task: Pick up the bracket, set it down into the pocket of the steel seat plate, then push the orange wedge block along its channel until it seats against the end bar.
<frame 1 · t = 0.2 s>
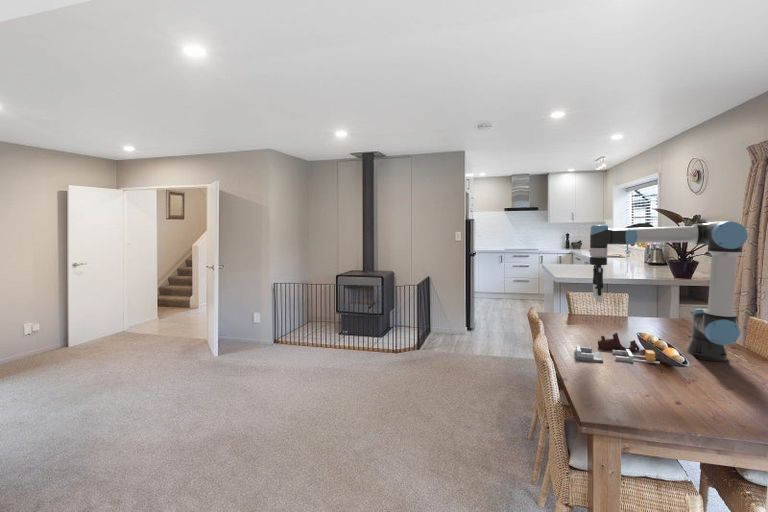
hand: (597, 299, 200), 27 cm above the table, fingers open, 13 cm apart
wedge: (650, 356, 187), point 3 cm above the table, slide at 0.0 cm
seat: (603, 358, 195), on the table
bracket: (617, 352, 205), on the table
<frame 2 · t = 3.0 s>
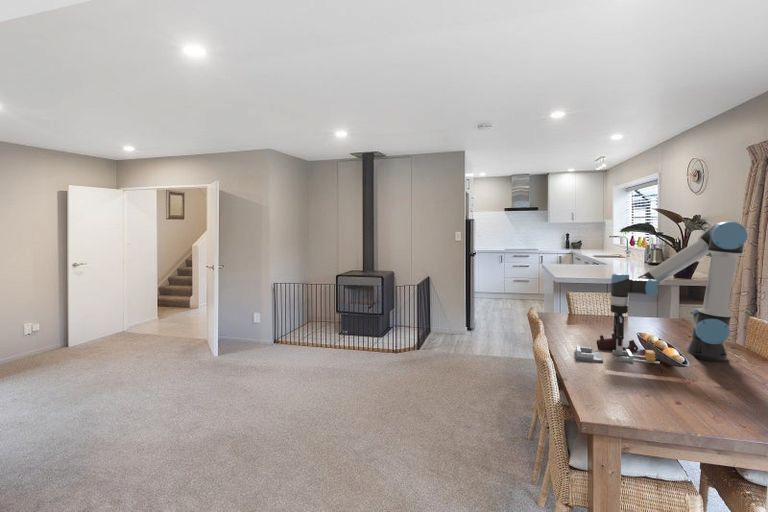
hand: (617, 349, 205), 1 cm above the table, fingers closed on bracket, 8 cm apart
bracket: (616, 352, 205), on the table, touching gripper
everything else where it was.
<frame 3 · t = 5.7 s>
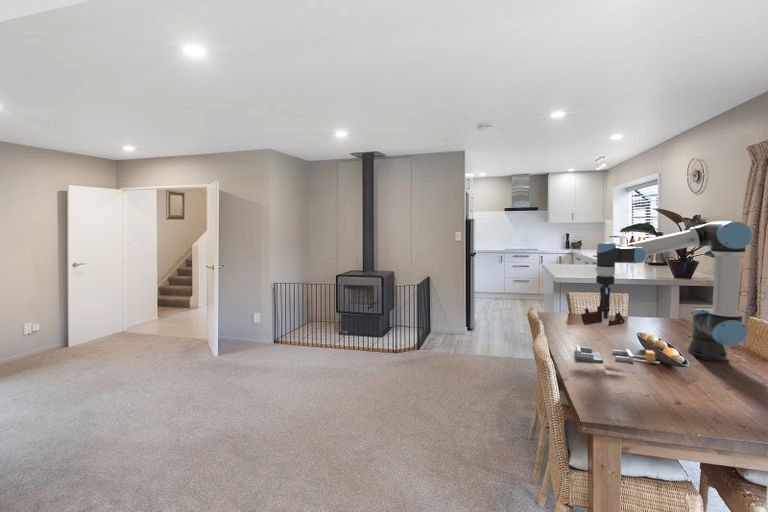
hand: (604, 323, 194), 17 cm above the table, fingers closed on bracket, 8 cm apart
bracket: (602, 325, 194), point 16 cm above the table, touching gripper
everything else where it was.
when the fingers open (4 cm above the table, at t = 8.5 s): bracket drops 2 cm, resting on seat.
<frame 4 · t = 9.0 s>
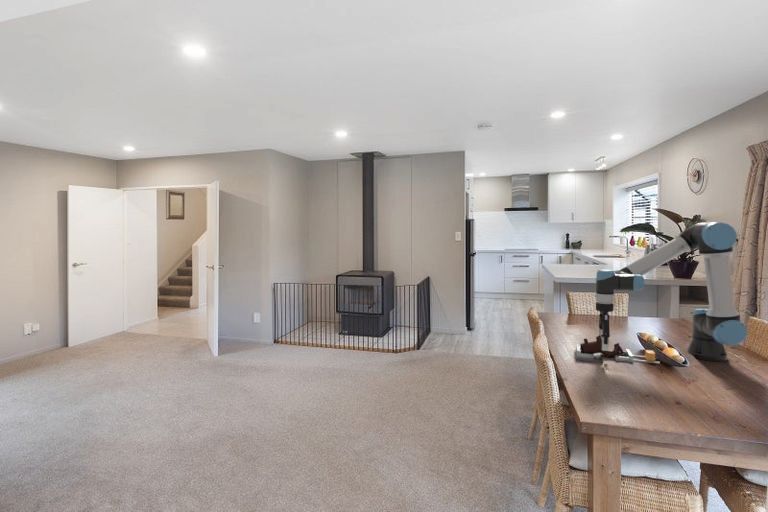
hand: (603, 346, 194), 6 cm above the table, fingers open, 13 cm apart
bracket: (601, 355, 196), point 1 cm above the table, touching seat
everything else where it was.
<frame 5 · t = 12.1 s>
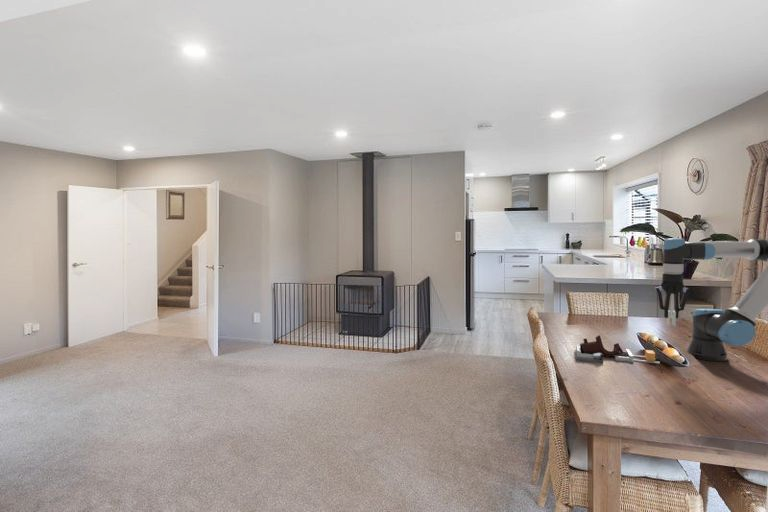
hand: (670, 325, 183), 18 cm above the table, fingers closed
nothing on the table moved.
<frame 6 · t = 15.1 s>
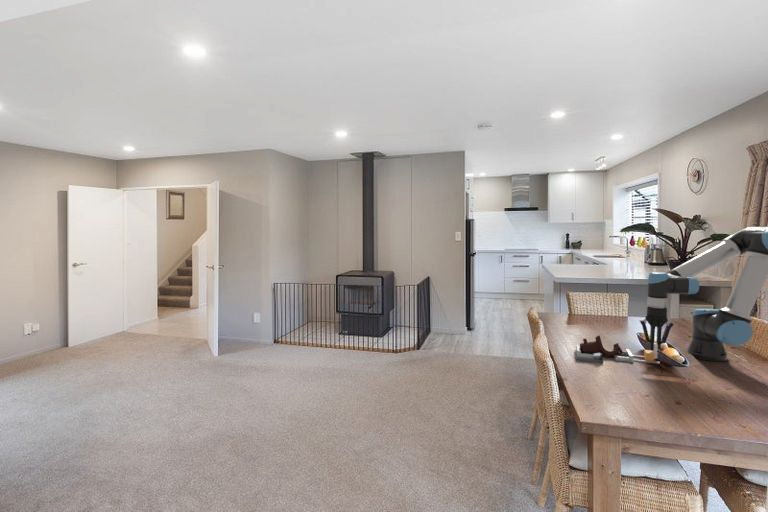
hand: (654, 357, 187), 3 cm above the table, fingers closed
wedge: (648, 355, 188), point 3 cm above the table, slide at 0.4 cm, touching gripper
everything else where it was.
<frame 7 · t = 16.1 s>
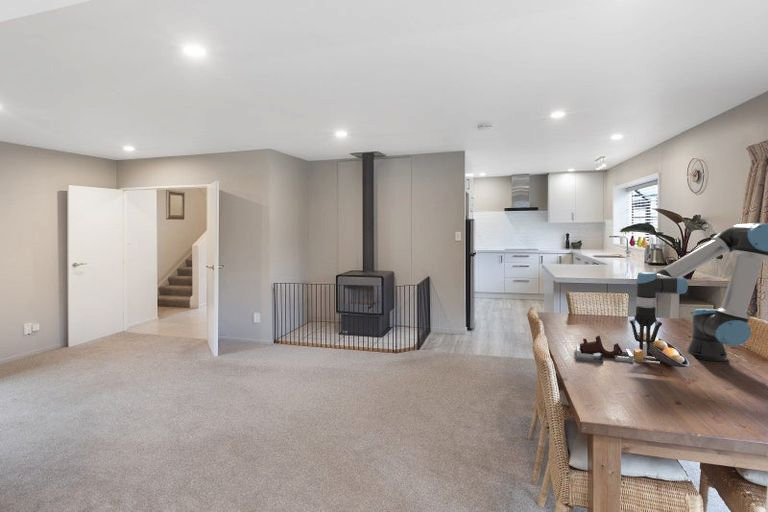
hand: (643, 356, 188), 3 cm above the table, fingers closed
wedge: (638, 354, 189), point 3 cm above the table, slide at 4.6 cm, touching gripper
everything else where it was.
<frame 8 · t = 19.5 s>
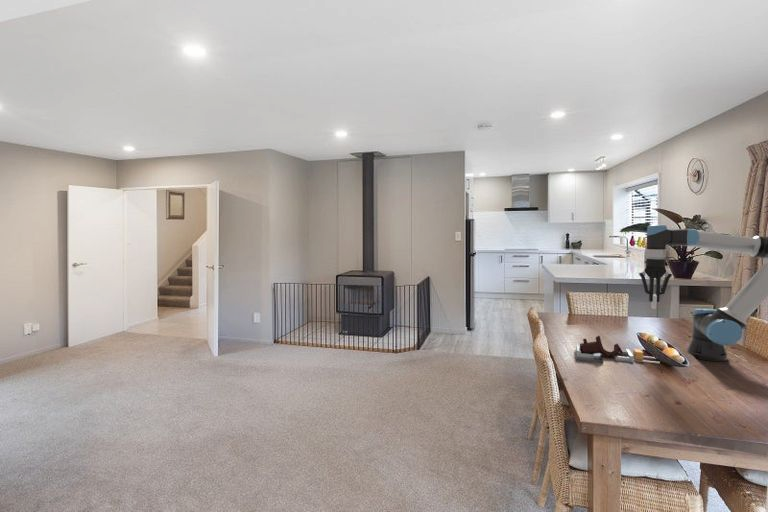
hand: (653, 308, 191), 24 cm above the table, fingers closed
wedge: (638, 354, 189), point 3 cm above the table, slide at 4.7 cm
everything else where it was.
at the end: bracket inside the target area on the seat (1.1 cm from its centre), point 1.0 cm above the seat's base; bracket tilted 1°; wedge slide at 4.7 cm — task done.
